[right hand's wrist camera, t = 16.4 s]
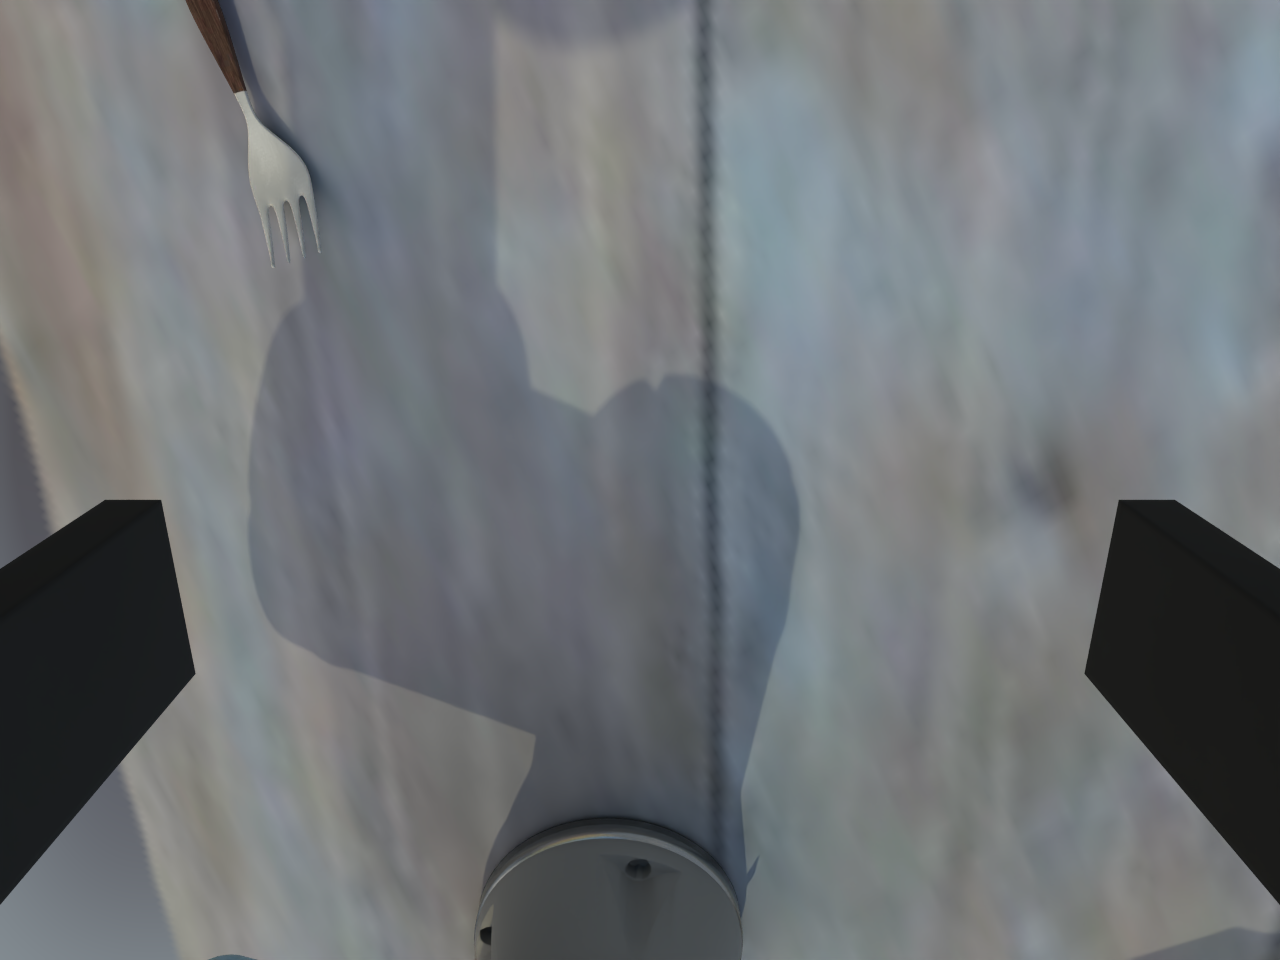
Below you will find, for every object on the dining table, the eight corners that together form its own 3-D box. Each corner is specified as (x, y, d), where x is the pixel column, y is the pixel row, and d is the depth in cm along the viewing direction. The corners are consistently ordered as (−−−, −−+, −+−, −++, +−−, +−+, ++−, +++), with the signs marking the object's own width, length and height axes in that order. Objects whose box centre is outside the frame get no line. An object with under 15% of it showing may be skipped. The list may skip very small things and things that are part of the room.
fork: (172, -169, 34) (145, -187, 32) (340, 246, 39) (325, 251, 37) (110, -145, 34) (79, -163, 32) (285, 264, 40) (267, 270, 38)
